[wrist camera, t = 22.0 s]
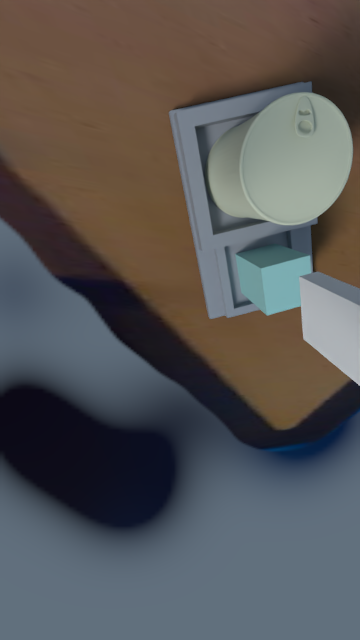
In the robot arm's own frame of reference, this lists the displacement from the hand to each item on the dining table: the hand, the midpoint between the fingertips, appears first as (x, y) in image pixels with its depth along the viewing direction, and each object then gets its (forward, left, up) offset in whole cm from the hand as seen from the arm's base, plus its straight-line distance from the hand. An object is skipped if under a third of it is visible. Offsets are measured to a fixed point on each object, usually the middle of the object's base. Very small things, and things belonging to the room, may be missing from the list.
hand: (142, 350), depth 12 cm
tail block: (+6, +14, -26) cm, 30 cm away
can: (-5, +14, -26) cm, 30 cm away
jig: (0, +14, -27) cm, 30 cm away
